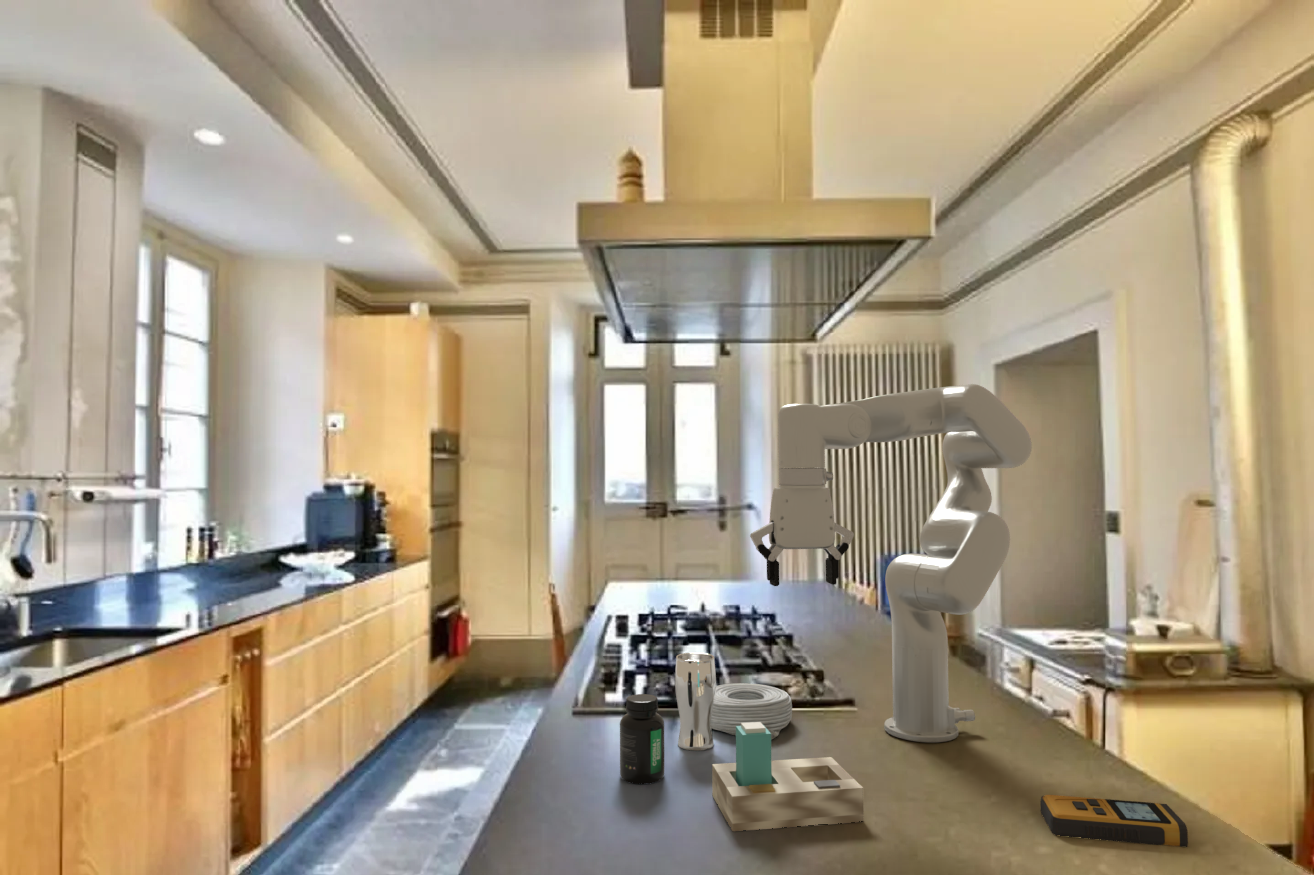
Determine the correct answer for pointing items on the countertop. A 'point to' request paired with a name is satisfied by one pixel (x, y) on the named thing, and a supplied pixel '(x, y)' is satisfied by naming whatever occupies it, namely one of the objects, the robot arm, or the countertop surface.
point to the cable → (750, 707)
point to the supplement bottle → (642, 741)
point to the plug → (753, 754)
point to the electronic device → (1114, 820)
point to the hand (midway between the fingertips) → (802, 584)
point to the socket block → (789, 795)
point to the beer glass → (695, 699)
